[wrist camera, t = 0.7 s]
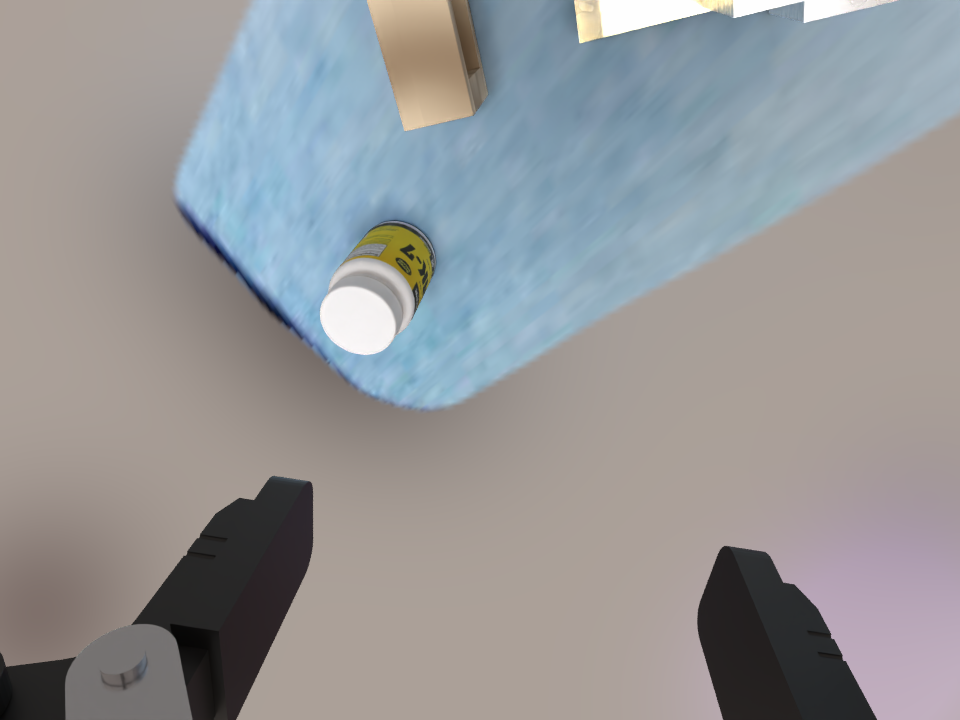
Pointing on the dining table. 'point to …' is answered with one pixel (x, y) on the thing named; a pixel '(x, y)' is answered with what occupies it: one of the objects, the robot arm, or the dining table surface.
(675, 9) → the tan piece
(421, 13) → the socket
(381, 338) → the supplement bottle
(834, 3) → the white plaster block
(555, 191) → the dining table surface
